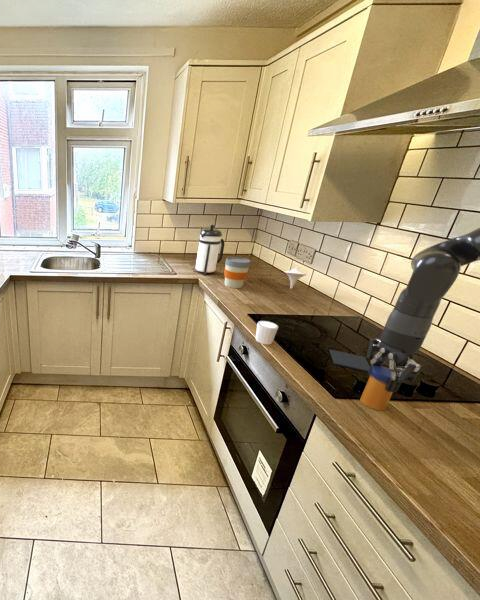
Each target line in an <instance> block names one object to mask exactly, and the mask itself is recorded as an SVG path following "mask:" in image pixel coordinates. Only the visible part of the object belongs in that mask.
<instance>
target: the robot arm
mask: <svg viewBox="0 0 480 600" xmlns="http://www.w3.org/2000/svg"><path fill="white" fill-rule="evenodd" d="M477 261H480V227H478V228H475V229H474V230H472V231H470V232H467V233H464V234H463V235H459V236H456V237H452V238H450V239H447V240H444V241H442V242H439V243H436V244H434V245H430V246H429V247H426V248H424V249H422V250H421V251H418V252H417V253H416V254H415V255H414V256H413V257H412V259H411V262H410V267H411V269H412V274H411V276H410V278H409V280H408V283H407V285H406V286H405V288H403V289H402V290H401V292H400V293H399V295H398V297H397V300H396V302H395V305H394V307H393V308H392V311H391V312H390V314H389V315H388V317H387V319H386V322H385V324H384V327H383V329H382V332H381V333H380V337H379V338H370V339H369V344H368V347H367V352H366V356H365V358H366V360H369V362H370V365H369V366H370V368H369V370H368V372H367V377H368V378H369V377H370V375H371V373H370V372H371V370H372V368H373V367H374V366H383V365H385V364H386V363H387V364H388V368H389V370H390V371H391V378H390V379H389V381H388V383H387V386H386V388H385V390H386V391H388V392H393V393H395V392H398V391H399V389H400V387H401V385H402V384H413V382H414V381H415V380H416V379H417V377H418V376H419V375H420V373H421V372H422V371H423V370H424V367H425V366H424V365H423V364H421V363H417V362H416V360H414V358H415V357H414V355H415V354H416V353H417V352H418V351H420V350H421V348H422V346H423V344H424V341H425V339H426V338H427V336H428V333H429V331H430V329H431V327H432V324H433V320H434V317H435V315H436V313H437V312H438V309H439V307H440V305H441V303H442V299H443V298H444V297H445V296H446V294H447V293H448V292H449V291H450V289H451V288H452V286H453V285H454V284H455V282H456V280H457V278H458V276H459V275H460V271H461V268H462V267H464V266H466V265H470V264H471V263H475V262H477ZM373 353H374V354H373ZM397 372H398V373H399V376H397Z"/></svg>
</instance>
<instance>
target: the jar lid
mask: <svg viewBox="0 0 480 600" xmlns="http://www.w3.org/2000/svg"><path fill="white" fill-rule="evenodd" d="M370 373H371V376H372V377H374V378H375V379H377V380H379V381H381V382H384V383H388V381H389V379H390V378H391V371H390V370H389V367H387V366H383V365H381V366H374V367H373V368H372V370H371V372H370ZM397 376H399V372H397Z"/></svg>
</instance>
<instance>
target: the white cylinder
mask: <svg viewBox="0 0 480 600" xmlns="http://www.w3.org/2000/svg"><path fill="white" fill-rule="evenodd" d="M278 330H279V325H278V324H276V323H275V322H272V321H269V320H258V322H257V324H256V330H255V331H256V332H255V341H256V342H257V343H259V344H262V345H268V346H269V345H272V344H273V342H274V340H275V336H276V334H277V332H278Z"/></svg>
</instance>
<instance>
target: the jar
mask: <svg viewBox="0 0 480 600" xmlns="http://www.w3.org/2000/svg"><path fill="white" fill-rule="evenodd" d="M386 386H387V383H384V382H381V381H379V380H377V379H375V378H374V377H372V376H371V375H370V377H369V376H368V379H367V381H366V384H365V387H364V389H363V391H362V393H361V396H360V398H359V401H360V402H361V403H362V404H363V405H364V406H366V407H368V408H369V409H372V410H376V411H384V410H386V408H387V406H388V404H389V402H390V401H391V399H392V396H393V393H394V392H388V391H386V390H385V388H386Z"/></svg>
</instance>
